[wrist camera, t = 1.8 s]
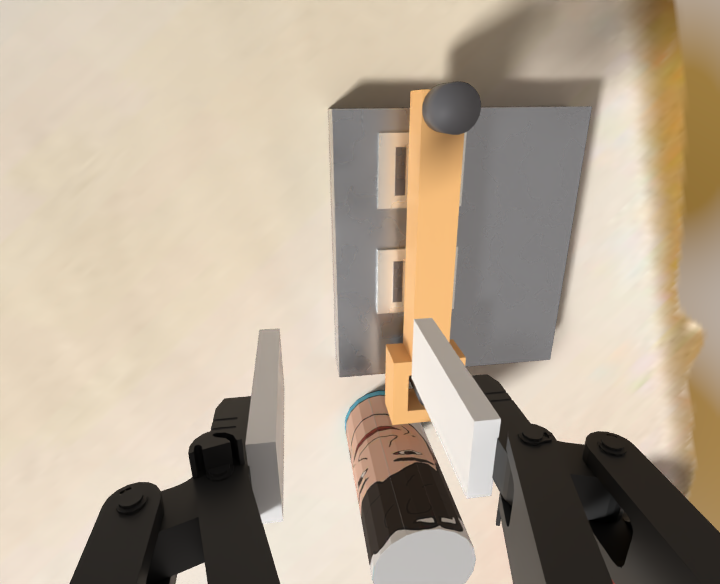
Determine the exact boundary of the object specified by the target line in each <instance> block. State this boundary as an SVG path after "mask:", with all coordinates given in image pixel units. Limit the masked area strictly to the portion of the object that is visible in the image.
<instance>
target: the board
mask: <svg viewBox="0 0 720 584" xmlns="http://www.w3.org/2000/svg"><path fill="white" fill-rule="evenodd" d="M591 109H592V107H481V111H480V116H479V118H478V120H477V122H476V123H475V125H474V126H473V127H472V128H471V129H470V130H469V131H467V132H465V133H464V146H463V160H462V174H461V188H460V202H459V216H458V229H457V243H456V257H455V271H454V285H453V299H452V313H451V327H450V339H453V340H454V341H455V343H456V344H457V346H458V347H459V348H460V350H461V351H462V353H463V354H464V356H465V357H466V362H465V367H468V366H480V365H492V364H503V363H515V362H527V361H539V360H550V357H551V351H552V345H553V339H554V333H555V327H556V321H557V314H558V308H559V302H560V296H561V290H562V284H563V278H564V272H565V266H566V260H567V254H568V248H569V242H570V236H571V230H572V224H573V218H574V212H575V206H576V200H577V194H578V187H579V181H580V175H581V169H582V163H583V157H584V151H585V145H586V139H587V133H588V127H589V121H590V115H591ZM328 118H329V150H330V183H331V215H332V248H333V280H334V313H335V345H336V362H337V367H338V372H339V377H350V376H362V375H374V374H385V373H386V344H397V343H403V325H404V292H405V259H406V226H407V192H408V159H409V126H410V108H350V109H328ZM411 377H412V376H409V380H410V382H411V384H412V387H413V389H414V391H415V393H416V396H417V398H418V400H419V402H420V403H421V404H422V405H423V406H424V404H423V402H422V400H421V398H420V395H419V393H418V391H417V389H416V387H415V384H414V382H413V380H412V378H411Z"/></svg>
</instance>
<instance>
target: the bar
mask: <svg viewBox="0 0 720 584" xmlns="http://www.w3.org/2000/svg"><path fill="white" fill-rule="evenodd" d="M480 111H481V101H480V97H479V95H478V93H477V91H476V90H475V89H474V87H472V86H471V85H469V84H468V83H465V82H452V83H444V84H440V85H437V86H435V87H433V88H432V89H422V90H414V91H411V93H410V126H409V159H408V192H407V226H406V259H405V292H404V325H403V343H397V344H386V375H385V404H386V407H387V410H388V413H389V416H390V419H391V422H392V425H398V424H408V423H418V422H429V421H431V419H430V417H429V415H428V413H427V411H426V408H425V406H423V405H422V404H421V403H420V402H419V400H418V398H417V396H416V393H415V391H414V389H413V388H412V389H408V385H409V376H412V352H413V327H414V319H423V318H433V320H434V321H435V323H436V324H437V326H438V327H439V329H440V330H441V332H442V333H443V334H444V336H445V337H446V339H447V340H448V342H449V343H450V345H451V346H452V348H453V349H454V351H455V352H456V354H457V355H458V356H459V358H460V359H461V361H462V362H463V364H464V365H465V362H466V357H465V356H464V354H463V353H462V351H461V350H460V348H459V347H458V346H457V344H456V343H455V341H454V340H453V339H450V327H451V313H452V299H453V285H454V271H455V257H456V243H457V229H458V216H459V202H460V188H461V174H462V160H463V146H464V133H465V132H467V131H469V130H470V129H471V128H472V127H473V126H474V125H475V123H476V122H477V120H478V118H479V116H480Z"/></svg>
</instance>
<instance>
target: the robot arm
mask: <svg viewBox="0 0 720 584" xmlns="http://www.w3.org/2000/svg"><path fill="white" fill-rule="evenodd" d="M411 378H412V380H413V382H414V384H415V387H416V389H417V391H418V393H419V395H420V398H421V400H422V402H423V404H424V406H425V408H426V411H427V413H428V415H429V417H430V419H431V422H432V424H433V426H434V428H435V430H436V433H437V435H438V437H439V439H440V441H441V444H442V446H443V448H444V450H445V452H446V455H447V457H448V459H449V461H450V463H451V465H452V468H453V470H454V472H455V474H456V476H457V479H458V481H459V483H460V485H461V487H462V490H463V492H464V494H465V496H466V498H475V497H484V496H491V494H492V486H493V480H494V482H495V484H496V486H497V487H498V489H499V491H500V496H499V503H498V510H497V518H496V525H497V526H500V521H502V527H503V532H504V537H505V543H506V548H507V553H508V559H509V564H510V569H511V575H512V580H513V584H613V582H614V583H615V584H720V533H719V531H718V530H717V529H716V528H715V527H714V526H713V525H712V524H711V523H710V522H709V521H708V520H707V519H706V518H705V517H704V516H703V515H702V514H701V513H700V512H699V511H698V510H697V509H696V508H695V507H694V506H693V505H692V504H691V503H690V502H689V501H688V500H687V499H686V498H685V497H684V496H683V495H682V493H681V492H680V491H679V490H678V489H677V488H676V487H675V486H674V485H673V484H672V483H671V482H670V481H669V480H668V479H667V478H666V477H665V476H664V475H663V474H662V473H661V472H660V471H659V470H658V469H657V468H656V467H655V466H654V465H653V464H652V463H651V462H650V461H649V460H648V459H647V458H646V457H645V456H644V455H643V454H642V453H641V452H640V451H639V449H638V448H637V447H636V446H635V445H634V444H632V443H631V442H630V441H628V440H627V439H625V438H623V437H621V436H619V435H617V434H613V433H609V432H599V431H597V432H594V433H590V434H589V435H588V436H587V437H586V441H585V445H582V444H574V443H566V442H560V441H557V440H556V439H555V437H554V436H553V434H552V433H551V432H549V431H548V430H547V429H545V428H543V427H541V426H538V425H535V424H531V423H530V422H529V421H528V420H527V418H526V417H525V416H524V414H523V413H522V412H521V410H520V409H519V408H518V406H517V405H516V404H515V403H514V401H513V400H511V397H510V396H509V395H508V393H506V391H505V389H504V388H503V387H502V386H501V384H500V383H499V382H498V381H496V380H495V379H493V378H492V377H490V376H489V375H476V376H471V374H470V373H469V371H468V370H467V368H466V367H465V365H464V364H463V362H462V361H461V359H460V358H459V356H458V355H457V354H456V352H455V351H454V349H453V348H452V346H451V345H450V343H449V342H448V340H447V339H446V337H445V336H444V334H443V333H442V332H441V330H440V329H439V327H438V326H437V324H436V323H435V321H434V320H433V318H423V319H414V327H413V352H412V377H411ZM188 454H189V460H190V465H191V471H192V476H193V477H192V478H191V479H189V480H188V481H186V482H184V483H182V484H180V485H178V486H175V487H173V488H170V489H167V490H164V491H160V490H159V488H158V487H157V485H154V484H152V483H149V482H138V483H134V484H130V485H127V486H125V487H123V488H121V489H119V490H117V491H116V492H115V493H113V494H112V495H111V496H110V497H109V498H108V499H107V500H106V502H105V503H104V505H103V506H102V508H101V511H100V513H99V515H98V518H97V520H96V522H95V525H94V527H93V530H92V532H91V534H90V537H89V539H88V541H87V544H86V546H85V548H84V551H83V553H82V556H81V558H80V560H79V563H78V565H77V567H76V570H75V572H74V574H73V577H72V579H71V581H70V584H175V583H176V578H177V574H178V573H180V572H183V571H185V570H187V569H190V568H192V567H195V566H197V565H199V564H202V563H204V562H205V567H206V574H207V581H208V584H280V581H279V578H278V575H277V571H276V568H275V564H274V561H273V558H272V554H271V551H270V547H269V544H268V541H267V537H266V534H265V530H264V527H263V524H264V523H272V522H281V521H283V470H284V378H283V366H282V353H281V341H280V329H265V330H259V338H258V346H257V354H256V362H255V370H254V378H253V386H252V394H251V396H248V397H237V398H226V399H224V400H223V401H222V402H221V403H220V404H219V406H218V407H217V408H216V410H215V414H214V418H213V423H212V427H211V431H210V432H207V433H205V434H202V435H201V436H199V437H198V438H197V439H195V440H194V441H193V443H192V444H191V445H190V447H189V452H188ZM612 580H613V582H612Z"/></svg>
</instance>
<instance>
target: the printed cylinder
mask: <svg viewBox="0 0 720 584" xmlns="http://www.w3.org/2000/svg"><path fill="white" fill-rule="evenodd" d="M345 430H346V436H347V441H348V447H349V452H350V458H351V464H352V469H353V475H354V480H355V486H356V491H357V497H358V503H359V508H360V514H361V519H362V525H363V531H364V536H365V542H366V547H367V553H368V559H369V564H370V570H371V575H372V580H373V583H374V584H465V583H466V582H467V580H468V578H469V577H470V575H471V574H472V572H473V570H474V566H475V561H476V557H475V552H474V548H473V545H472V543H471V540H470V538H469V536H468V533H467V531H466V529H465V526H464V524H463V521H462V519H461V517H460V514H459V512H458V510H457V507H456V505H455V502H454V500H453V498H452V495H451V493H450V491H449V488H448V486H447V483H446V481H445V479H444V476H443V474H442V472H441V469H440V467H439V464H438V462H437V460H436V457H435V455H434V453H433V450H432V448H431V445H430V443H429V441H428V438H427V436H426V434H425V431H424V429H423V426H422V424H421V422H418V423H408V424H398V425H392V422H391V419H390V416H389V413H388V410H387V407H386V404H385V391H376V392H372V393H369V394H366V395H365V396H363V397H361V398H360V399H358V400H357V401H356V402H355V403H354V404H353V405H352V406H351V407H350V409H349V411H348V413H347V416H346V420H345Z"/></svg>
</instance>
